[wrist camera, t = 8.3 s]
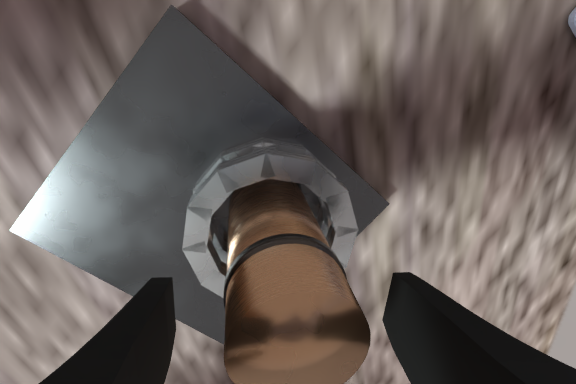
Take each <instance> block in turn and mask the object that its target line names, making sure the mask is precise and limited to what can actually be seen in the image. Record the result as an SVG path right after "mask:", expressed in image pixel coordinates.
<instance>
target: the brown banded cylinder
mask: <svg viewBox="0 0 576 384" xmlns="http://www.w3.org/2000/svg"><path fill="white" fill-rule="evenodd" d="M223 300H224V307H225V340H224V363H225V367H226V371H227V373H228V375H229V377H230V379H231V380H232V381H233V383H234V384H343V383H344V382H346V381H347V380H348V379H349V378H350V377H351V376H352V375H353V374H354V373H355V372H356V371H357V370H358V369H359V367H360V366H361V364H362V363H363V361H364V360H365V357H366V355H367V353H368V350H369V346H370V329H369V325H368V322H367V320H366V318H365V316H364V314H363V312H362V310H361V308H360V306H359V304H358V302H357V300H356V298H355V296H354V294H353V292H352V290H351V288H350V286H349V284H348V282H347V278H346V274H345V271H344V269H343V267H342V265H341V263H340V261H339V259H338V257H337V256H336V254H335V253H334V252H333V250H332V249H331V248H330V246H329V244H328V242H327V240H326V238H325V236H324V234H323V232H322V230H321V228H320V226H319V224H318V222H317V220H316V218H315V216H314V214H313V212H312V210H311V208H310V206H309V204H308V202H307V200H306V198H305V196H304V194H303V193H302V191H301V189H300V188H299V186H298V185H297V184H296V183H295V182H289V181H282V180H276V179H269V178H268V179H265V180H262V181H259V182H256V183H253V184H251V185H248V186H245V187H242V188H239V189H236V190H235V191H234V193H233V194H232V197H231V199H230V203H229V221H228V251H227V274H226V277H225V281H224V295H223Z"/></svg>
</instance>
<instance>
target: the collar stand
mask: <svg viewBox="0 0 576 384" xmlns="http://www.w3.org/2000/svg"><path fill="white" fill-rule="evenodd" d="M268 178H269V179H276V180H282V181H289V182H295V183H296V184H297V185H298V186H299V188H300V189H301V191H302V193H303V194H304V196H305V198H306V200H307V202H308V204H309V206H310V208H311V210H312V212H313V214H314V216H315V218H316V220H317V222H318V224H319V226H320V228H321V230H322V232H323V234H324V236H325V238H326V240H327V242H328V244H329V246H330V248H331V249H332V250H333V252H334V253H335V254H336V256H337V257H338V259H339V261H340V263H341V265H342V267H343V269H345V268H346V267H347V263H348V260H349V257H350V254H351V251H352V248H353V245H354V241H355V238H356V237H357V236H358V235H359V234H360V233H361V232H362V231H363V230H364V229H365V228H366V227H367V226H368V225H369V224H370V223H371V222H372V221H373V220H374V219H375V218H376V217H377V216H378V215H379V214H380V213H381V212H382V211H383V210H384V209H385V208H386V207H387V206H388V205H389V203H388V202H387V201H386V200H385V199H384V198H383V197H382V196H381V195H380V194H379V193H377V192H376V191H375V190H374V189H373V188H372V187H371V186H370V185H369V184H368V183H367V182H365V181H364V180H363V179H362V178H361V177H360V176H359V175H358V174H357V173H356V172H354V171H353V170H352V169H351V168H350V167H349V166H348V165H347V164H346V163H345V162H344V161H342V160H341V159H340V158H339V157H338V156H337V155H336V154H335V153H334V152H333V151H331V150H330V149H329V148H328V147H327V146H326V145H325V144H324V143H323V142H322V141H321V140H319V139H318V138H317V137H316V136H315V135H314V134H313V133H312V132H311V131H310V130H309V129H307V128H306V127H305V126H304V125H303V124H302V123H301V122H300V121H299V120H298V119H296V118H295V117H294V116H293V115H292V114H291V113H290V112H289V111H288V110H287V109H286V108H284V107H283V106H282V105H281V104H280V103H279V102H278V101H277V100H276V99H275V98H273V97H272V96H271V95H270V94H269V93H268V92H267V91H266V90H265V89H264V88H263V87H261V86H260V85H259V84H258V83H257V82H256V81H255V80H254V79H253V78H252V77H250V76H249V75H248V74H247V73H246V72H245V71H244V70H243V69H242V68H241V67H240V66H238V65H237V64H236V63H235V62H234V61H233V60H232V59H231V58H230V57H229V56H227V55H226V54H225V53H224V52H223V51H222V50H221V49H220V48H219V47H218V46H217V45H215V44H214V43H213V42H212V41H211V40H210V39H209V38H208V37H207V36H206V35H205V34H203V33H202V32H201V31H200V30H199V29H198V28H197V27H196V26H195V25H194V24H192V23H191V22H190V21H189V20H188V19H187V18H186V17H185V16H184V15H183V14H182V13H180V12H179V11H178V10H177V9H176V8H175V7H174V6H172V5H171V6H170V7H169V9H168V10H167V11H166V13H165V14H164V16H163V17H162V18H161V20H160V21H159V23H158V24H157V25H156V27H155V28H154V30H153V31H152V32H151V34H150V35H149V37H148V38H147V39H146V41H145V42H144V43H143V45H142V46H141V48H140V49H139V50H138V52H137V53H136V55H135V56H134V57H133V59H132V60H131V62H130V63H129V64H128V66H127V67H126V69H125V70H124V71H123V73H122V74H121V76H120V77H119V78H118V80H117V81H116V82H115V84H114V85H113V87H112V88H111V89H110V91H109V92H108V94H107V95H106V96H105V98H104V99H103V101H102V102H101V103H100V105H99V106H98V108H97V109H96V110H95V112H94V113H93V115H92V116H91V117H90V119H89V120H88V121H87V123H86V124H85V126H84V127H83V128H82V130H81V131H80V133H79V134H78V135H77V137H76V138H75V140H74V141H73V142H72V144H71V145H70V147H69V148H68V149H67V151H66V152H65V154H64V155H63V156H62V158H61V159H60V160H59V162H58V163H57V165H56V166H55V167H54V169H53V170H52V172H51V173H50V174H49V176H48V177H47V179H46V180H45V181H44V183H43V184H42V186H41V187H40V188H39V190H38V191H37V193H36V194H35V195H34V197H33V198H32V199H31V201H30V202H29V204H28V205H27V206H26V208H25V209H24V211H23V212H22V213H21V215H20V216H19V218H18V219H17V220H16V222H15V223H14V225H13V226H12V227H11V229H10V230H9V231H11V232H13V233H15V234H16V235H18V236H20V237H22V238H24V239H26V240H28V241H30V242H32V243H33V244H35V245H37V246H39V247H41V248H43V249H45V250H47V251H49V252H50V253H52V254H54V255H56V256H58V257H60V258H62V259H64V260H66V261H67V262H69V263H71V264H73V265H75V266H77V267H79V268H81V269H82V270H84V271H86V272H88V273H90V274H92V275H94V276H96V277H98V278H99V279H101V280H103V281H105V282H107V283H109V284H111V285H113V286H115V287H116V288H118V289H120V290H122V291H124V292H126V293H128V294H130V295H132V296H133V297H134V295H135V294H136V293H137V292H138V291H139V290H140V289H141V288H142V287H143V286H144V285H145V284H146V283H147V281H148V280H150V279H151V278H156V277H172V278H173V292H174V307H175V319H177V320H179V321H181V322H182V323H184V324H186V325H188V326H190V327H192V328H194V329H196V330H198V331H199V332H201V333H203V334H205V335H207V336H209V337H211V338H213V339H215V340H216V341H218V342H220V343H222V344H224V340H225V307H224V300H223V295H224V281H225V277H226V274H227V251H228V221H229V203H230V199H231V197H232V194H233V193H234V191H235V190H236V189H239V188H242V187H245V186H248V185H251V184H253V183H256V182H259V181H262V180H265V179H268Z"/></svg>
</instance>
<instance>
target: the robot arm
mask: <svg viewBox="0 0 576 384" xmlns="http://www.w3.org/2000/svg"><path fill="white" fill-rule="evenodd" d="M568 24H569V27H570V28H571V30H572V32H573V33H574V35H575V37H576V8H575V9H574V10H573V11H572V12H571V13H570V16H569V18H568ZM383 323H384V326H385V329H386V332H387V334H388V337H389V340H390V342H391V345H392V347H393V350H394V352H395V354H396V356H397V358H398V360H399V362H400V363H401V365H402V367H403V369H404V371H405V373H406V375H407V377H408V379H409V381H410V383H411V384H576V369H575V368H573V367H570V366H568V365H566V364H564V363H562V362H560V361H558V360H556V359H554V358H552V357H550V356H548V355H546V354H544V353H542V352H540V351H538V350H536V349H535V348H533V347H531V346H529V345H527V344H525V343H523V342H521V341H519V340H518V339H516V338H514V337H512V336H511V335H509V334H507V333H505V332H504V331H502V330H500V329H499V328H497V327H495V326H494V325H492V324H490V323H489V322H487V321H485V320H484V319H482V318H480V317H479V316H477V315H476V314H474V313H473V312H471V311H469V310H468V309H466V308H465V307H463V306H462V305H460V304H459V303H457V302H456V301H454V300H453V299H451V298H450V297H448V296H447V295H445V294H444V293H442V292H441V291H439V290H438V289H436V288H434V287H433V286H431V285H430V284H428V283H427V282H425V281H424V280H422V279H421V278H419V277H417V276H416V275H414V274H412V273H410V272H403V273H393V276H392V280H391V285H390V289H389V294H388V298H387V302H386V307H385V311H384V316H383ZM175 332H176V322H175V307H174V292H173V278H172V277H156V278H151V279H150V280H148V281H147V283H146V284H145V285H144V286H143V287H142V288H141V289H140V290H139V291H138V292H137V293H136V294H135V295H134V297H133V298H132V299H131V300H130V301H129V302H128V303H127V304H126V305H125V306H124V307H123V308H122V309H121V310H120V311H119V312H118V313H117V314H116V315H115V316H114V317H113V318H112V319H111V320H110V321H109V322H108V323H107V324H106V325H105V326H104V327H103V328H102V329H101V330H100V331H99V332H98V333H97V334H96V335H95V336H94V337H93V338H92V339H90V340H89V341H88V342H87V343H86V344H85V345H84V346H83V347H82V348H81V349H80V350H78V351H77V352H76V353H75V354H74V355H73V356H72V357H71V358H69V359H68V360H67V361H66V362H65V363H64V364H62V365H61V366H60V367H59V368H58V369H56V370H55V371H54V372H53V373H52V374H50V375H49V376H48V377H47V378H45V379H44V380H43V381H42V382H40V383H39V384H164V382H165V379H166V375H167V372H168V368H169V365H170V361H171V355H172V350H173V344H174V338H175Z"/></svg>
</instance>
